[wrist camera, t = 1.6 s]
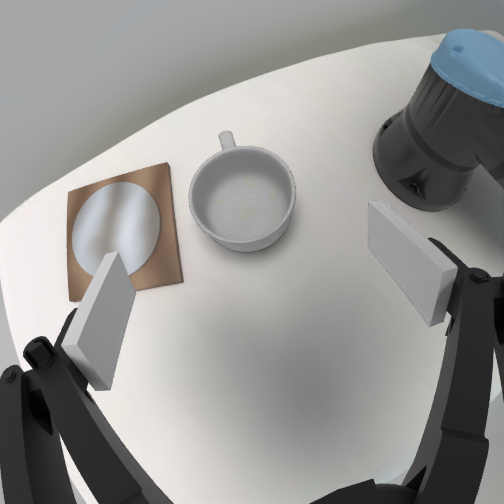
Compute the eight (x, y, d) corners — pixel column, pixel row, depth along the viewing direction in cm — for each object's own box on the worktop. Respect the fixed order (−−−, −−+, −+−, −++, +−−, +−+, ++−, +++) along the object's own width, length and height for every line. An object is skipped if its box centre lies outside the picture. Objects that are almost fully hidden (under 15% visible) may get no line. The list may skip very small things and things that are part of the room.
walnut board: (169, 166, 40) (165, 159, 38) (183, 282, 36) (178, 279, 34) (72, 195, 40) (65, 189, 38) (74, 302, 36) (66, 300, 34)
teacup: (294, 256, 37) (302, 237, 29) (203, 263, 37) (187, 246, 29) (282, 154, 40) (285, 118, 32) (201, 161, 40) (188, 127, 32)
